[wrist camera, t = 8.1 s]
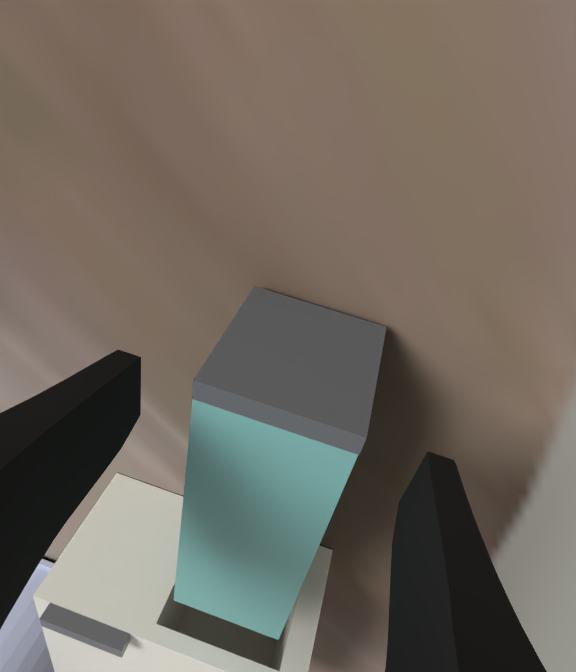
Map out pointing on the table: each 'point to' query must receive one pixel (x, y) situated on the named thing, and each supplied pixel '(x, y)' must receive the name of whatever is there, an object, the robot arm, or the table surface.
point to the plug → (271, 454)
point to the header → (155, 598)
